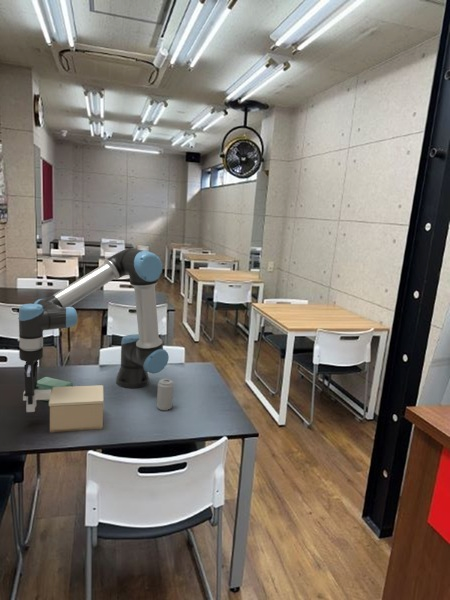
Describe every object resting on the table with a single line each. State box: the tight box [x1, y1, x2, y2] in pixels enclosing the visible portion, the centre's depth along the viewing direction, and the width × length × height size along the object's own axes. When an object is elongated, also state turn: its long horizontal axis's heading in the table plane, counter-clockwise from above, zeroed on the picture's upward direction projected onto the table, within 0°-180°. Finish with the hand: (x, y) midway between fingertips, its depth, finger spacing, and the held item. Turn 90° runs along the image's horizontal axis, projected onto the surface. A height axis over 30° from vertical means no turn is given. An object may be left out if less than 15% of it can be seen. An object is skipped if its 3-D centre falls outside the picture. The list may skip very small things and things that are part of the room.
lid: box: [22, 384, 104, 407], centre depth 149 cm, size 27×14×2 cm, turn 107°
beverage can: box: [156, 378, 174, 411], centre depth 168 cm, size 6×6×12 cm
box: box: [35, 376, 74, 402], centre depth 168 cm, size 7×14×8 cm, turn 77°
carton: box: [49, 403, 104, 434], centre depth 151 cm, size 18×14×10 cm
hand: (31, 408), depth 146 cm, fingers closed on lid, 3 cm apart
